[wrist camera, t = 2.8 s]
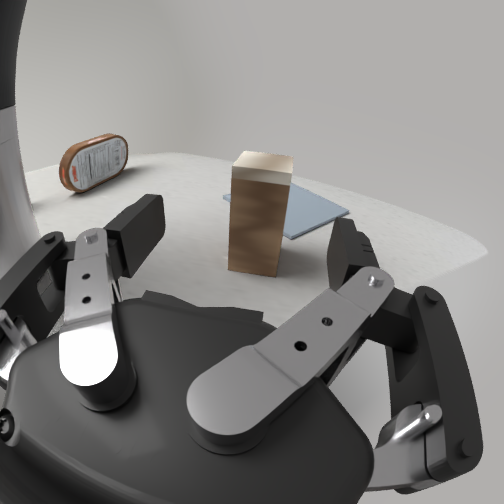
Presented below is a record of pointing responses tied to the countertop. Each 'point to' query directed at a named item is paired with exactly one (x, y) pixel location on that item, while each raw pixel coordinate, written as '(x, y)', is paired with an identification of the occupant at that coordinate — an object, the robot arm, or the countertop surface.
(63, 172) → the tin
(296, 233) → the mat
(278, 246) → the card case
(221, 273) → the countertop surface
